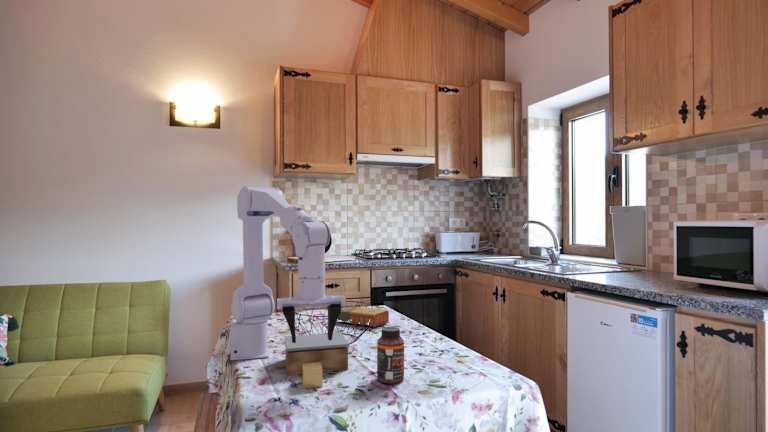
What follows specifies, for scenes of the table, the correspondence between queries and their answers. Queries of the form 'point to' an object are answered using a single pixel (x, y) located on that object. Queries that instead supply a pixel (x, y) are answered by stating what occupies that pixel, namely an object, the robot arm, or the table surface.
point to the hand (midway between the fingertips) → (311, 340)
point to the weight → (312, 375)
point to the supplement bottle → (390, 356)
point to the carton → (364, 316)
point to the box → (317, 359)
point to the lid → (315, 342)
